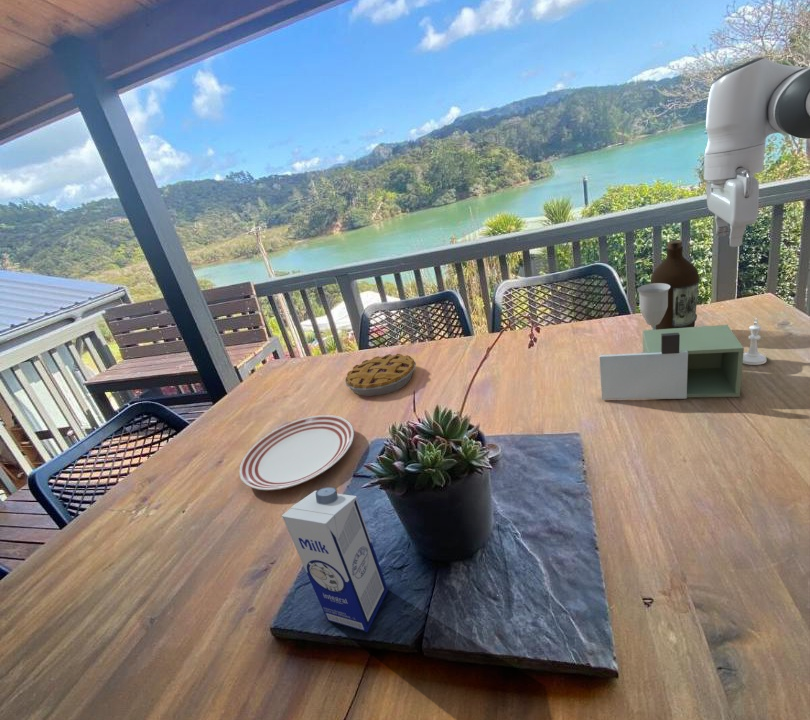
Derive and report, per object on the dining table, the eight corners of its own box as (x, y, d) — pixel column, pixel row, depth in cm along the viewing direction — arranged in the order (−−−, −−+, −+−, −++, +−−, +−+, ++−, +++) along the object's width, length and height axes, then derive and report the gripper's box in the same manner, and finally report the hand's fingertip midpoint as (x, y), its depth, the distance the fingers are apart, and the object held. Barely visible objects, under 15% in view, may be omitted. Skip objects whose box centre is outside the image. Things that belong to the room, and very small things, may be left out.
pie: (404, 397, 119) (400, 381, 117) (336, 400, 127) (331, 385, 126) (426, 362, 138) (423, 348, 136) (365, 366, 146) (361, 353, 144)
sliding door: (686, 399, 90) (688, 334, 84) (601, 400, 96) (598, 339, 91) (685, 396, 91) (687, 331, 85) (601, 397, 97) (598, 337, 92)
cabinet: (739, 396, 87) (744, 348, 83) (648, 397, 94) (648, 352, 89) (724, 369, 97) (727, 324, 93) (643, 372, 104) (642, 330, 99)
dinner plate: (320, 503, 86) (315, 490, 85) (218, 494, 97) (212, 482, 96) (375, 425, 109) (371, 414, 108) (287, 425, 120) (283, 415, 119)
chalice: (644, 349, 113) (643, 282, 107) (673, 352, 109) (674, 283, 102) (633, 361, 109) (632, 292, 102) (663, 365, 104) (664, 293, 97)
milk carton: (326, 620, 62) (279, 514, 55) (349, 580, 68) (310, 479, 60) (368, 632, 59) (325, 522, 52) (389, 589, 65) (353, 484, 57)
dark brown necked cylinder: (641, 334, 122) (640, 245, 112) (675, 324, 123) (677, 235, 113) (670, 346, 112) (672, 249, 102) (707, 334, 113) (711, 238, 103)
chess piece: (736, 363, 98) (739, 322, 94) (740, 354, 101) (743, 314, 97) (764, 366, 94) (769, 323, 91) (768, 356, 98) (772, 315, 94)
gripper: (774, 165, 70) (766, 250, 75) (738, 158, 87) (733, 228, 92) (726, 174, 73) (722, 255, 78) (701, 165, 90) (698, 233, 95)
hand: (728, 240), depth 85 cm, fingers open, 8 cm apart
